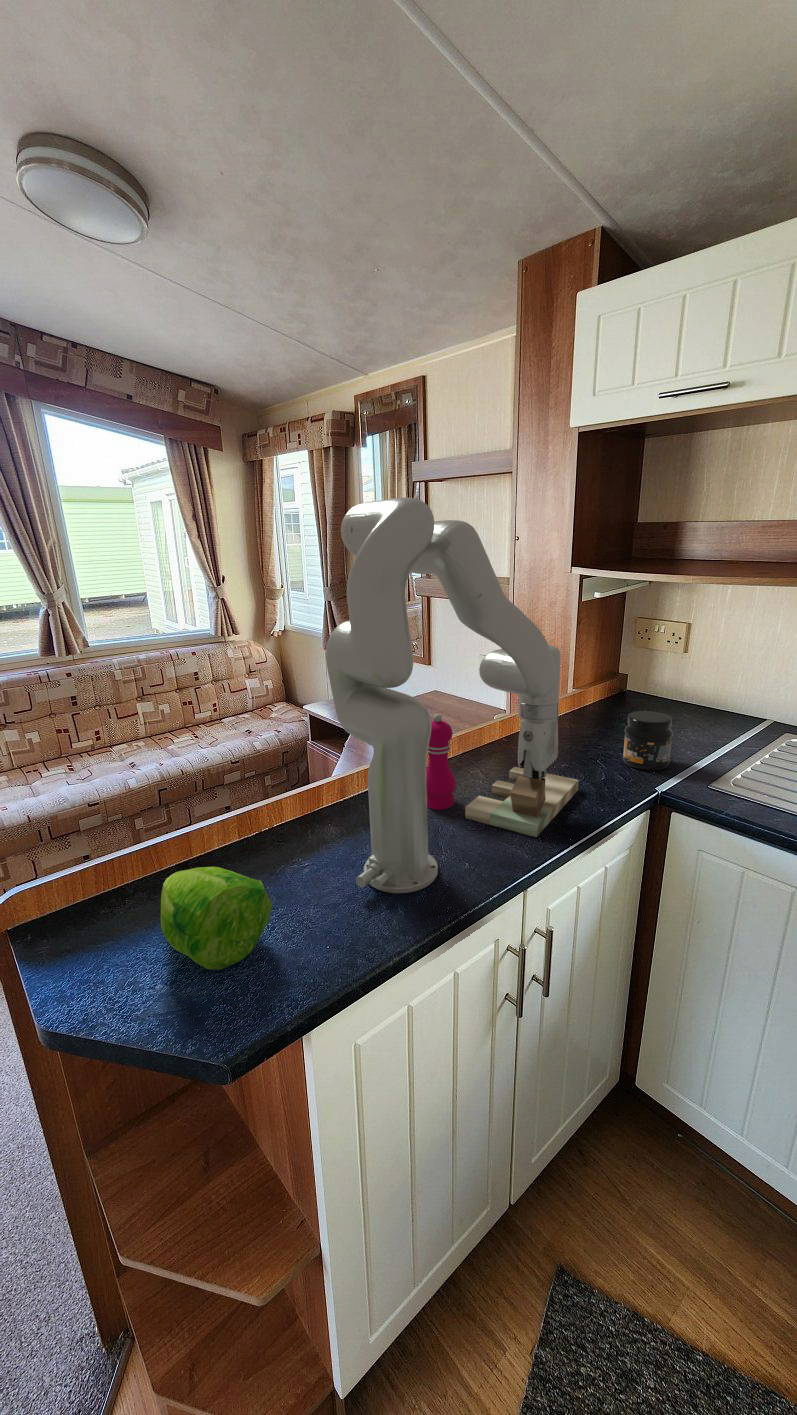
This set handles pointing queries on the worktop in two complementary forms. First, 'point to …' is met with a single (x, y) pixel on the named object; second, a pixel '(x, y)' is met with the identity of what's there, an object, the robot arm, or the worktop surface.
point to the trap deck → (502, 815)
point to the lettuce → (213, 915)
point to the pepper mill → (439, 766)
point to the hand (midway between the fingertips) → (535, 796)
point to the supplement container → (648, 740)
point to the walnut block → (528, 796)
